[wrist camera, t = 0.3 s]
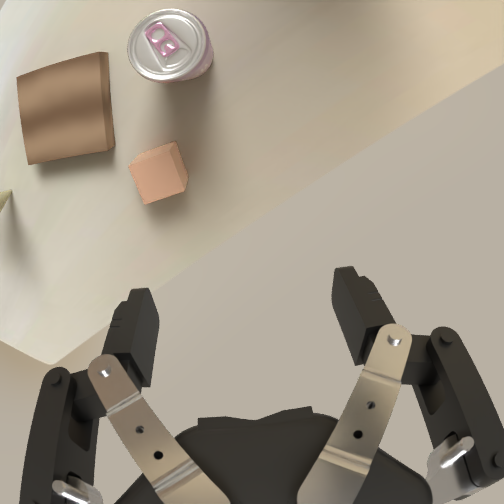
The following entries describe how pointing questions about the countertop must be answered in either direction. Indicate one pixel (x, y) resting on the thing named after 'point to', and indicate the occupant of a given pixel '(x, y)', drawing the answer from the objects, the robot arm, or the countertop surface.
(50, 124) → the pedestal
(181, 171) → the terracotta cube
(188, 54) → the beverage can
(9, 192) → the ice cream cone
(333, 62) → the countertop surface
